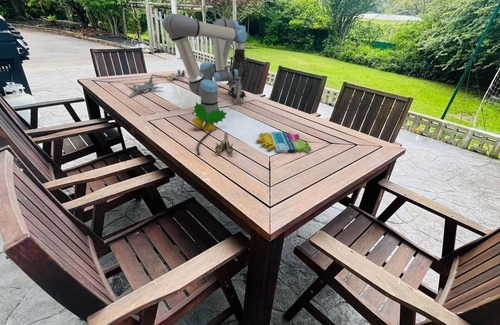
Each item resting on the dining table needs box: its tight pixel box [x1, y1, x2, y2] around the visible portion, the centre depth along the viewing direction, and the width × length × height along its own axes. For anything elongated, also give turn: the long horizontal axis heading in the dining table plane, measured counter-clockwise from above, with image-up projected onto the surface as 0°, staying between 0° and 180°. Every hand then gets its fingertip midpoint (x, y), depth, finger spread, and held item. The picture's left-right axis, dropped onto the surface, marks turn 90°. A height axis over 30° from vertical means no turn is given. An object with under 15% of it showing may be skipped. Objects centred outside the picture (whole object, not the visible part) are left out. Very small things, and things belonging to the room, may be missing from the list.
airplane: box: [127, 74, 164, 98], centre depth 226 cm, size 38×31×10 cm
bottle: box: [233, 81, 243, 106], centre depth 210 cm, size 6×6×20 cm
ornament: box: [191, 102, 228, 132], centre depth 162 cm, size 21×8×15 cm, turn 105°
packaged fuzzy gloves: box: [256, 131, 312, 154], centre depth 152 cm, size 26×2×30 cm
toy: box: [160, 69, 186, 82], centre depth 280 cm, size 28×7×30 cm
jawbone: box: [214, 131, 234, 156], centre depth 136 cm, size 9×15×10 cm
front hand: (238, 80), depth 206 cm, fingers open, 7 cm apart
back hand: (238, 97), depth 207 cm, fingers closed on bottle, 6 cm apart
